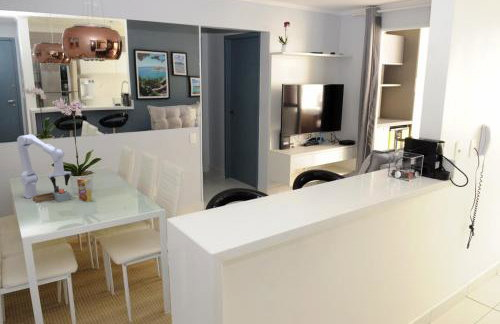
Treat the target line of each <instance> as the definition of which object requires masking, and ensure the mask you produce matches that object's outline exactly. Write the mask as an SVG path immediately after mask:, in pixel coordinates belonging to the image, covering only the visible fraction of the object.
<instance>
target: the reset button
mask: <svg viewBox="0 0 500 324" xmlns="http://www.w3.org/2000/svg"><path fill="white" fill-rule="evenodd" d="M64 191H65V188H60V189H59V193H60V194H63V193H64Z"/></svg>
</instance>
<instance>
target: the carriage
mask: <svg viewBox="0 0 500 324" xmlns="http://www.w3.org/2000/svg"><path fill="white" fill-rule="evenodd" d="M57 192H59V185H56V188H54V187H53V191H50V193H51V195H54V193H57Z"/></svg>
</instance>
